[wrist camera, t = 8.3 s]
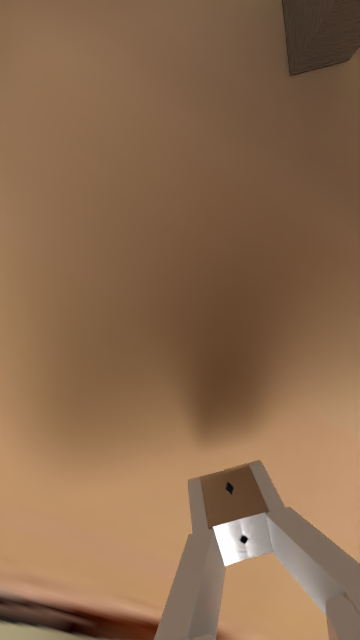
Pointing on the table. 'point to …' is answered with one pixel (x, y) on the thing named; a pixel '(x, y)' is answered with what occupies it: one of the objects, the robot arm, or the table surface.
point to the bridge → (320, 32)
